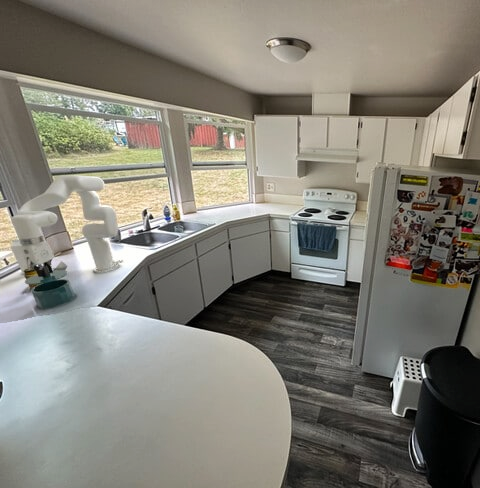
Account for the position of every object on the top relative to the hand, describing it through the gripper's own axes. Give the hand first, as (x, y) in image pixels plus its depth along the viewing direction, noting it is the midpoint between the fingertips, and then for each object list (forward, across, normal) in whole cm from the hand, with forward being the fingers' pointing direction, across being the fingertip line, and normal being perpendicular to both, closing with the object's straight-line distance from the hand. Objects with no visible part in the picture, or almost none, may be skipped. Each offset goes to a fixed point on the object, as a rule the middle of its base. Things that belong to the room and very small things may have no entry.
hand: (46, 274), depth 125 cm
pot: (+16, 0, 0) cm, 16 cm away
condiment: (+16, +16, +22) cm, 32 cm away
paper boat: (+16, +36, +24) cm, 46 cm away
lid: (+2, 0, 0) cm, 2 cm away
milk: (+16, +40, +42) cm, 60 cm away
